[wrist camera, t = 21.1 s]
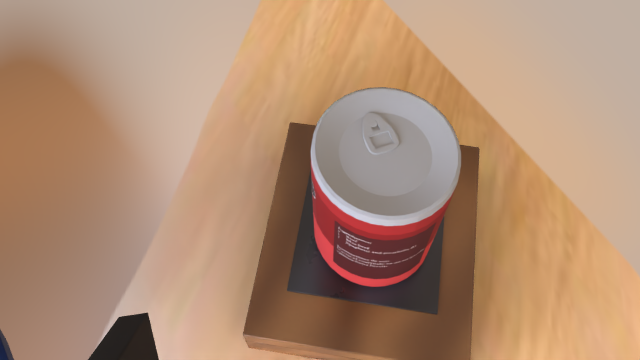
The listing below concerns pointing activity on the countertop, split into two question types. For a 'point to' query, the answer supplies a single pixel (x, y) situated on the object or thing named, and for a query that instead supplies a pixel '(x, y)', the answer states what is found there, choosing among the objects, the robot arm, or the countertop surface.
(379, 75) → the countertop surface
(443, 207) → the canned food
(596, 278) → the countertop surface
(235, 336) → the countertop surface
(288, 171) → the wooden picture frame
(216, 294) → the countertop surface
